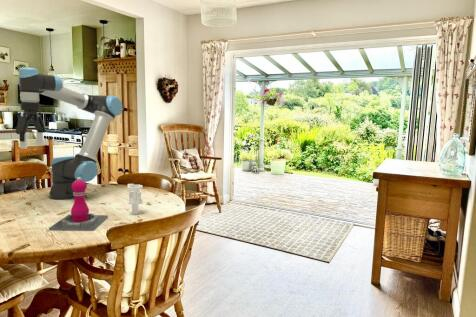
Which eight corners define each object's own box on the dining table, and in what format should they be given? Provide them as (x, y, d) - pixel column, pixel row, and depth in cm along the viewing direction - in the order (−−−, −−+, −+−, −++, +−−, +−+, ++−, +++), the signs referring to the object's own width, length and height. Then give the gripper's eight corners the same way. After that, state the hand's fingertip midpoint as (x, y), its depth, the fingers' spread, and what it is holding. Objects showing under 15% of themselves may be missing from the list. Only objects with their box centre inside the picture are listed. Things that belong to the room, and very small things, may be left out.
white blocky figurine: (128, 211, 165) (128, 182, 163) (142, 211, 166) (142, 182, 164) (127, 215, 158) (126, 185, 156) (142, 215, 160) (142, 185, 158)
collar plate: (68, 216, 153) (68, 211, 153) (107, 217, 154) (107, 212, 154) (49, 230, 136) (48, 224, 135) (93, 230, 137) (93, 225, 136)
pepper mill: (75, 218, 148) (73, 175, 145) (91, 218, 149) (90, 175, 146) (68, 223, 141) (66, 178, 138) (85, 224, 142) (84, 178, 139)
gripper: (36, 102, 164) (38, 144, 167) (4, 100, 140) (7, 149, 142) (51, 103, 165) (53, 144, 168) (22, 101, 140) (25, 150, 143)
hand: (32, 147), depth 155 cm, fingers open, 13 cm apart
